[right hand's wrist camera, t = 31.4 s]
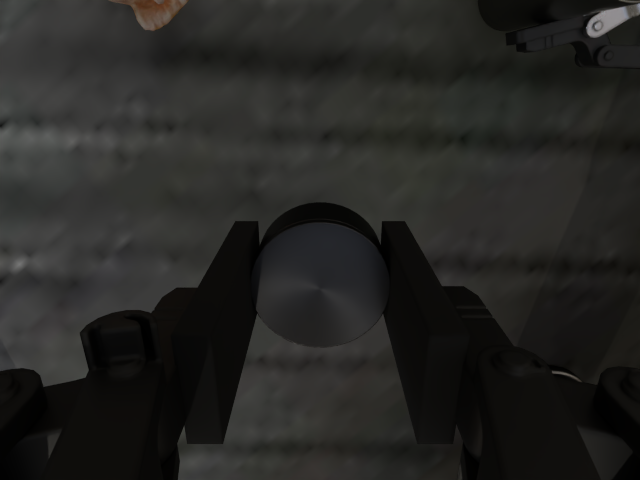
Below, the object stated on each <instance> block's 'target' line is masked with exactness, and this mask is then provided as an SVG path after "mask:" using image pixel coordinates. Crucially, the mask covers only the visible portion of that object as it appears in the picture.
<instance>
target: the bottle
mask: <svg viewBox="0 0 640 480" xmlns="http://www.w3.org/2000/svg"><path fill="white" fill-rule="evenodd" d="M635 4H640V0H478V5H479V10H480V14H481V16H482V18H483V20H484V21H485V22H486V23H487V24H488V25H489V26H490V27H492V28H494V29H496V30H499V31H510V30H515V29H520V28H525V27H529V26H534V25H539V24H543V23H548V22H553V21H558V20H562V19H568V18H573V17H577V16H582V15H587V14H592V13H597V12H601V11H606V10H611V9H616V8H621V7H625V6H630V5H635Z"/></svg>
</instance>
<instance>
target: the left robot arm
mask: <svg viewBox="0 0 640 480" xmlns="http://www.w3.org/2000/svg"><path fill="white" fill-rule="evenodd" d="M638 15H640V4H635V5H630V6H625V7H621V8H616V9H611V10H606V11H601V12H597V13H592V14H587V15H582V16H577V17H573V18H568V19H562V20H558V21H553V22H548V23H543V24H540V25H536V26H532V27H529V28H525V29H521V30H517V31H514V32H510V33H506V45H514V44H516V48H517V52H524V53H527V52H537V51H540V50H544V49H548V48H552V47H556V46H559V45H563V44H567V43H570V44H572V45H573V46H574V48H575V50H576V55H575V63H576V65H577V66H579V67H594V68H626V69H640V46H636V45H611V43H610V40H609V38H608V35H607V32H608V31H610V30H611V29H613V28H615V27H616V26H618V25H620V24H621V23H623V22H625V21H626V20H628V19H630V18H633V17H635V16H638ZM549 368H550V369H551V371H552V373H553V375H554V376H557V377H561V378H565V379H569V380H574V381H579V382H582V381H581V380H580V379H579V378H578V377H577V376H576V375H575V374H574V373H572V372H571V371H569V370H567V369H564V368H560V367H555V366H549Z"/></svg>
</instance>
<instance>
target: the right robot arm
mask: <svg viewBox="0 0 640 480" xmlns="http://www.w3.org/2000/svg"><path fill="white" fill-rule="evenodd" d="M259 247H260V245H259V227H258V221H235V223H234V225H233V226H232V228H231V230H230V232H229V233H228V235H227V237H226V239H225V241H224V242H223V244H222V246H221V248H220V249H219V251H218V253H217V255H216V256H215V258H214V260H213V262H212V263H211V265H210V267H209V269H208V270H207V272H206V274H205V276H204V277H203V279H202V281H201V283H200V284H199V286H198V288H176V289H174V290H173V291H171V292H170V293H168V294H167V295H165V296H164V297H162V299H161V300H160V301H159V303H158V304H157V306H156V307H155V310H153V311H152V313H149V312H145V311H141V310H125V311H120V312H115V313H111V314H108V315H105V316H103V317H100V318H98V319H96V320H94V321H93V322H91V323H89V324H88V325H86V327H85V328H84V329H83V330H82V331H81V332H80V336H81V340H82V344H83V348H84V352H85V356H86V360H87V364H88V368H89V371H88V374H87V376H86V378H83V379H79V380H75V381H71V382H66V383H61V384H56V385H51V386H46V387H43V384H42V381H41V377H40V375H39V374H38V373H36V372H35V371H34V370H30V369H24V368H20V369H10V370H4V371H0V480H178V472H179V464H180V459H179V452H178V446H177V442H178V440H179V437H180V435H181V432H182V429H183V427H184V426H185V432H186V439H187V444H223V442H224V438H225V434H226V430H227V426H228V423H229V419H230V415H231V411H232V407H233V403H234V400H235V396H236V392H237V388H238V384H239V381H240V377H241V373H242V369H243V365H244V361H245V358H246V354H247V350H248V346H249V342H250V338H251V335H252V331H253V327H254V323H255V319H256V315H257V311H256V309H255V308H254V305H253V302H252V296H251V282H250V274H251V270H252V266H253V264H254V261H255V258H256V255H257V253H258V250H259ZM381 248H382V251H383V254H384V257H385V260H386V263H387V266H388V269H389V274H390V288H389V300H388V303H387V306H386V309H385V310H384V312H383V314H384V318H385V322H386V326H387V330H388V334H389V337H390V341H391V345H392V349H393V353H394V356H395V360H396V364H397V368H398V372H399V376H400V379H401V383H402V387H403V391H404V395H405V399H406V402H407V406H408V410H409V414H410V418H411V421H412V425H413V429H414V433H415V437H416V441H417V444H453V441H454V434H455V428H456V424H457V426H458V429H459V432H460V434H461V437H462V439H463V446H462V452H461V458H460V464H459V470H458V476H457V480H640V369H636V368H630V367H620V366H618V367H612V368H607V369H606V370H605V371H604V372H602V373H601V375H600V378H599V382H598V385H593V384H588V383H584V382H579V381H574V380H569V379H565V378H561V377H557V376H554V375H553V373H552V371H551V369H550V368H549V366H548V365H547V364H546V362H545V361H544V360H542V359H541V358H539V357H538V356H537V355H535V354H534V353H532V352H529V351H527V350H525V349H522V348H519V347H515V346H513V344H512V343H511V342H510V340H509V339H508V337H507V336H506V334H505V333H504V332H503V330H502V329H501V327H500V326H499V325H498V323H497V322H496V320H495V319H494V318H492V315H491V313H490V312H489V310H488V309H486V306H485V305H484V303H483V302H482V301H481V299H480V298H479V296H478V295H476V294H475V293H473V292H472V291H470V290H469V289H467V288H465V287H464V286H441V284H440V282H439V280H438V279H437V277H436V275H435V273H434V272H433V270H432V268H431V266H430V265H429V263H428V261H427V259H426V257H425V256H424V254H423V252H422V250H421V249H420V247H419V245H418V243H417V242H416V240H415V238H414V236H413V235H412V233H411V231H410V229H409V228H408V226H407V224H406V222H405V221H382V233H381Z"/></svg>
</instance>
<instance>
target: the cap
mask: <svg viewBox="0 0 640 480" xmlns="http://www.w3.org/2000/svg"><path fill="white" fill-rule="evenodd" d="M250 282H251V296H252V302H253V305H254V308H255V309H256V311H257V313H258V315H259V317H260V318H261V319H262V321H263V322H264V323H265V324H266V325H267V326H268V327H269V328H270V329H271V330H272V331H273V332H275V333H276V334H277V335H279V336H281V337H282V338H284V339H286V340H288V341H290V342H293V343H296V344H299V345H303V346H308V347H333V346H338V345H342V344H345V343H348V342H350V341H352V340H355V339H357V338H358V337H360V336H362V335H363V334H365V333H366V332H367V331H368V330H370V329H371V328H372V327H373V326H374V325H375V324H376V323H377V321H378V320H379V319H380V317H381V316H382V314H383V312H384V310H385V309H386V306H387V303H388V300H389V288H390V274H389V269H388V266H387V263H386V260H385V257H384V254H383V251H382V248H381V245H380V242H379V240H378V237H377V235H376V233H375V232H374V230H373V229H372V227H371V226H370V225H369V223H368V222H367V221H366V220H365V219H364V218H362V217H361V216H360V215H358V214H357V213H356V212H354V211H352V210H350V209H348V208H346V207H343V206H340V205H337V204H332V203H321V202H316V203H308V204H304V205H300V206H297V207H295V208H292V209H290V210H289V211H287V212H285V213H284V214H282V215H281V216H279V217H278V218H277V219H276V220H275V221H274V222H273V223H272V224H271V226H270V227H269V228H268V229H267V231H266V233H265V235H264V237H263V239H262V242H261V244H260V247H259V250H258V253H257V255H256V258H255V261H254V264H253V266H252V270H251V274H250Z"/></svg>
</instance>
